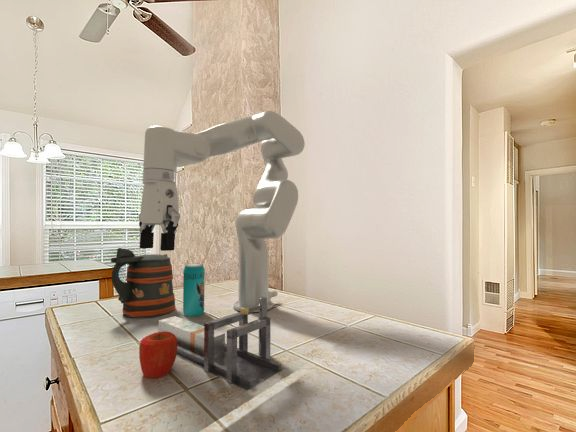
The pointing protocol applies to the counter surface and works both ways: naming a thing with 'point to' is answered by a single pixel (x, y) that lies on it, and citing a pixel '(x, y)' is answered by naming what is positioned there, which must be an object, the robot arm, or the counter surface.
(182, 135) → the robot arm
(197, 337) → the white box
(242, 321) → the collar
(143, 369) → the apple
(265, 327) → the collar
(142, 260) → the beer stein
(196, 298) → the beverage can
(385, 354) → the counter surface
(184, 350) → the rail plate
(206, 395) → the counter surface
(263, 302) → the frame
